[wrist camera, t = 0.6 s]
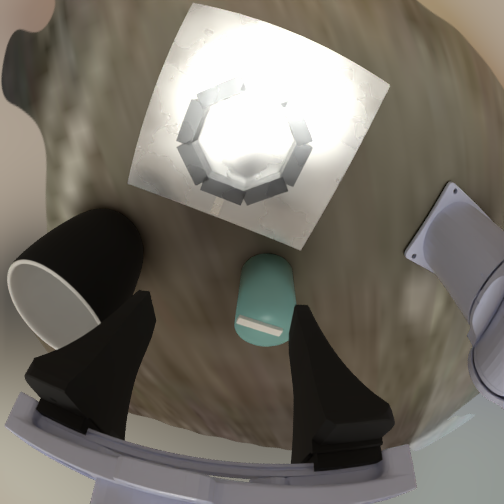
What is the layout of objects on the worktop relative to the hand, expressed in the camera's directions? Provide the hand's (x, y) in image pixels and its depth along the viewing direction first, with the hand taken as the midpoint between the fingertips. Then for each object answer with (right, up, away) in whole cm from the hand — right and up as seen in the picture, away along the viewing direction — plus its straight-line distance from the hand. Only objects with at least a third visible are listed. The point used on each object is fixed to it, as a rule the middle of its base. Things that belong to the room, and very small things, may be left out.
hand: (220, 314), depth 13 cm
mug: (-12, +3, +10) cm, 16 cm away
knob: (+3, +1, +10) cm, 11 cm away
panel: (+2, +12, +4) cm, 12 cm away
